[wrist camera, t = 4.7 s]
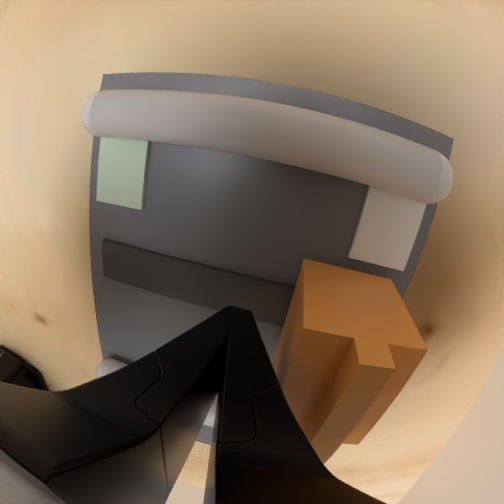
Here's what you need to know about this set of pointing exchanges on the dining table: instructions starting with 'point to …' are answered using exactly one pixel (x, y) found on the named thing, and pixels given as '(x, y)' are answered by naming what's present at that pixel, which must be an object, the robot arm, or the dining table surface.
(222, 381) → the robot arm
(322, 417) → the breaker handle
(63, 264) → the dining table surface
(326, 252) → the switch panel
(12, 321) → the dining table surface
